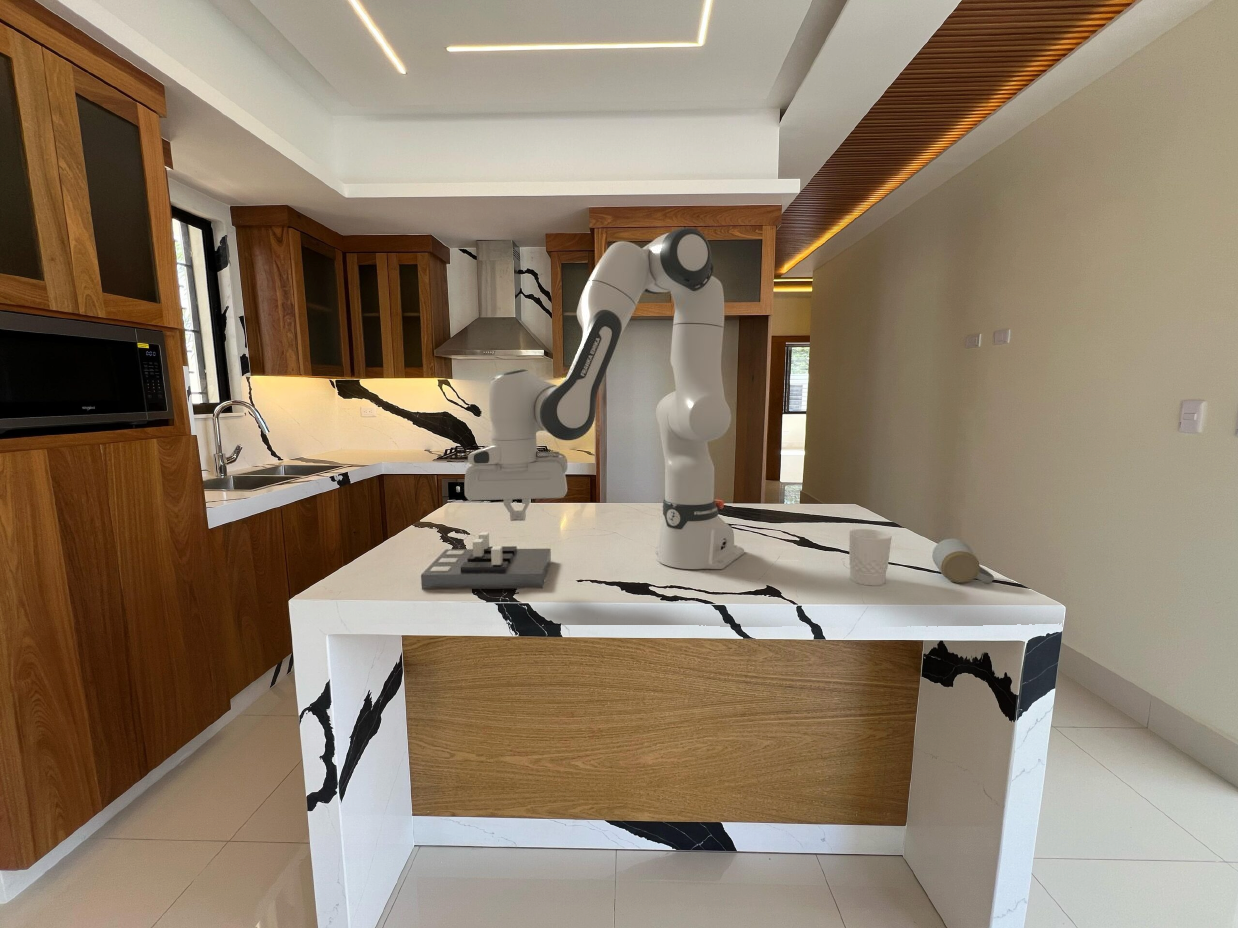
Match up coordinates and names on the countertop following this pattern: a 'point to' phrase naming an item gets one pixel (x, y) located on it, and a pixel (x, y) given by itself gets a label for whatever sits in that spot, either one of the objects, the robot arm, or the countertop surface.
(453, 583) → the breaker panel
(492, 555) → the block
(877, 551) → the white cup
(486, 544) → the white short rectangular block
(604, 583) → the countertop surface
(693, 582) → the countertop surface
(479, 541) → the block
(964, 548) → the ceramic mug
